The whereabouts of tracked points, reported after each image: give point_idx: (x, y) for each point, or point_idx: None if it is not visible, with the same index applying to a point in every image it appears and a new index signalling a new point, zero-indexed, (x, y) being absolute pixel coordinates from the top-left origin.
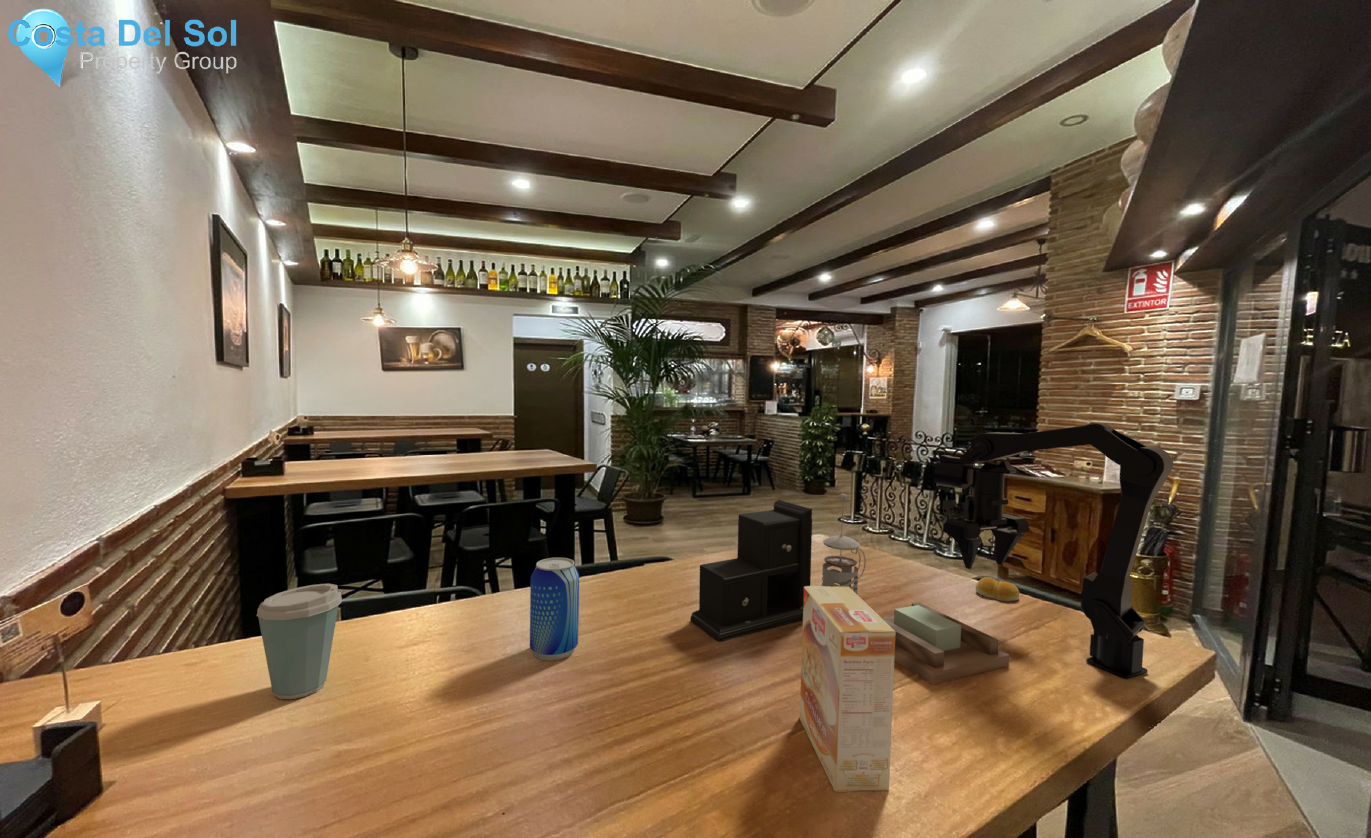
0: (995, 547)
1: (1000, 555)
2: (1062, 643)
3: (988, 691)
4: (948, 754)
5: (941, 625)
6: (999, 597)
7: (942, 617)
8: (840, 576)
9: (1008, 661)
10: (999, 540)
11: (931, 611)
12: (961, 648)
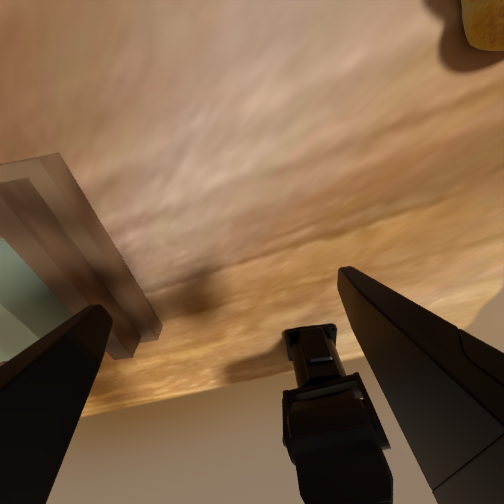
0: (408, 334)
1: (363, 326)
2: (314, 288)
3: None
4: None
5: (12, 350)
6: (466, 22)
7: (22, 327)
8: None
9: (160, 331)
10: (478, 446)
11: (27, 253)
12: None
